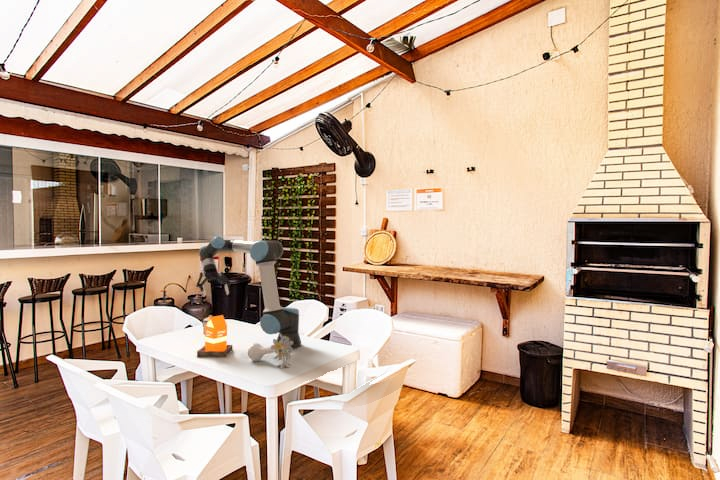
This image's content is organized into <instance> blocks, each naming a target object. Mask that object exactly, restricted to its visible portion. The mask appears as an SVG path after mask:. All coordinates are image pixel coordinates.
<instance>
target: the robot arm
mask: <svg viewBox="0 0 720 480" xmlns="http://www.w3.org/2000/svg"><path fill="white" fill-rule="evenodd" d="M198 252H199V257H200V260H201V261H200V262H201V265H202V269H203V272H200V273H199V278H198V280H197V283H196V288H199V290H200V292H202V295H203V297H206V295H207V292H206V289H205V284H206V283H207V281H208V280H209V281H213V280H214V281H218V282H219V283H221V284H222V285H224V291H225V293H226V296H228V295H229V294H230V291H229V290H230V286H231V283H232V281H231V280H230V279H229V278H228V277H227V276H226V275H225V274H224V272H223V271H221V272H218V269H217V266H216V262H215V256H216V255H217V254H218V253H219V252H234V253H235V252H236V253H244V254H250V258H251V259H252V260H253V261H255V266H257V268H258V269H259V278H260V283H261V290H262V295H263V296H262V298H263V304H264V309H263V311H262V316H261V318H260V319H259V321H260V323H259V324H260V328H261V330H262V331H263V332H264V333H266V334H268V335H276V334H278V336H277V338H276V340H277V342H279V341H280V340H281V337H280V335H279V333H280V334H282V337H283V336H286V337H289V342H290V341H293V342H294V343H293V344H292V345H290V346H291V347H292V349H293V350H294V349H298V348H300V347H301V346H302V340H301V337H300V334H299V333H300V332H299V329H300V328H299V324H300V312H299V309H298V308H295V307H286V306H285V307H283V306H281V304H280V299H279V298H280V297H279V292H278V291H279V290H278V284H277V277H276V271H275V264H276V263H277V259H280V258H281V257H282V256H283V253H284V247H283V245H282V243H281V242H280V241H278V240H266V239H265V240H263V239H262V240H257V241H251V240H249V241H248V240H236V239H224V238H223V237H222V236H221V237H220V236H218V235H217V236H214V238H212V239H211V240H210V242H209V243H208V244H207V245H204V246H202V247H200V248H199V249H198ZM204 277H205V278H204ZM202 278H204V279H203V280H202ZM201 281H202V282H201ZM284 341H285V340H283V343H284Z"/></svg>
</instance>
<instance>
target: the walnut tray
mask: <svg viewBox="0 0 720 480" xmlns="http://www.w3.org/2000/svg"><path fill="white" fill-rule="evenodd" d="M232 351H233V344H227V349H226V350H225V351H205V345H204V346H202V347H201V348H200V349H198V350H197V352H196V354H197V355H196V357H197V358H226V357H227V356H228V355H229V354H230V353H231V352H232Z"/></svg>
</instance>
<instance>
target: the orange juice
mask: <svg viewBox="0 0 720 480" xmlns="http://www.w3.org/2000/svg"><path fill="white" fill-rule="evenodd" d="M204 336H205V337H204V346H205V351H225V350H226V349H227V345H228V344H227V343H228V342H227V341H228V325H227V321H226V320H225V317H224V314H221V315H216V316H212V317H210V318H209V320H208V322H207V324H206V326H205V334H204Z"/></svg>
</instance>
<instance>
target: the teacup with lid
mask: <svg viewBox="0 0 720 480" xmlns="http://www.w3.org/2000/svg"><path fill="white" fill-rule="evenodd" d="M210 317H213V315H210V314H209V315H208V317H206V318H204V319H203V320H202V327H203V331H202V332H203V334H204V335H205V326H206V324H207V322H208V320H209V318H210Z"/></svg>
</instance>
